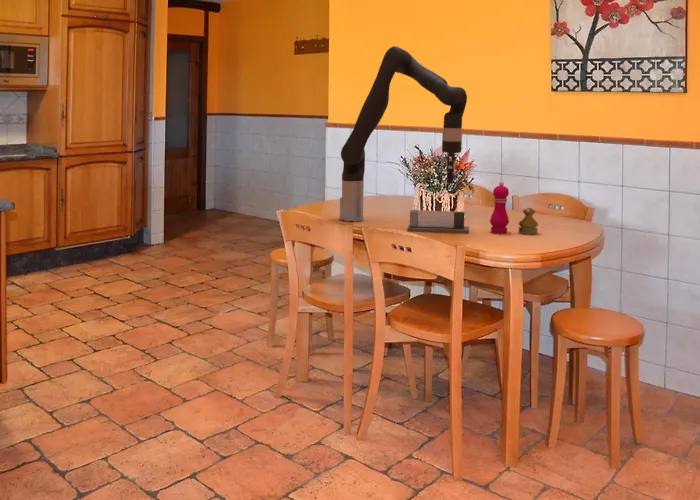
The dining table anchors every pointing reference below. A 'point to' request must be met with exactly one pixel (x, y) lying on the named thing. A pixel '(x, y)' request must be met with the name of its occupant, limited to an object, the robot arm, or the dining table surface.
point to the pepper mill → (500, 210)
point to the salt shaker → (528, 223)
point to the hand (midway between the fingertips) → (450, 181)
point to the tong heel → (414, 218)
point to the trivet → (439, 229)
